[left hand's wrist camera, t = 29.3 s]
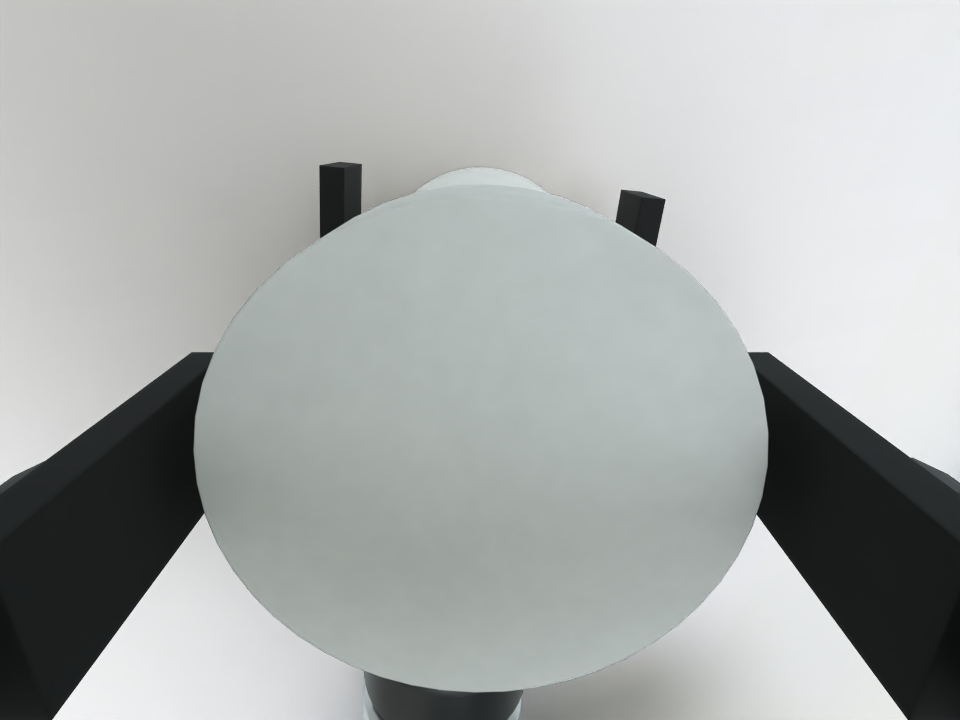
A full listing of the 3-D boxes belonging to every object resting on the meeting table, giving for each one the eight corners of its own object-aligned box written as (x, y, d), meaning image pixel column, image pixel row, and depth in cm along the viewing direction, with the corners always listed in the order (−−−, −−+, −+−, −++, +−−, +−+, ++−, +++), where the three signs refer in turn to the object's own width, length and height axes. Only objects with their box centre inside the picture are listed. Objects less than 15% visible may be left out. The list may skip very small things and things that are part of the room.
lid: (547, 62, 10) (567, 39, 7) (793, 470, 13) (861, 542, 10) (146, 377, 12) (67, 433, 9) (437, 662, 15) (430, 757, 12)
